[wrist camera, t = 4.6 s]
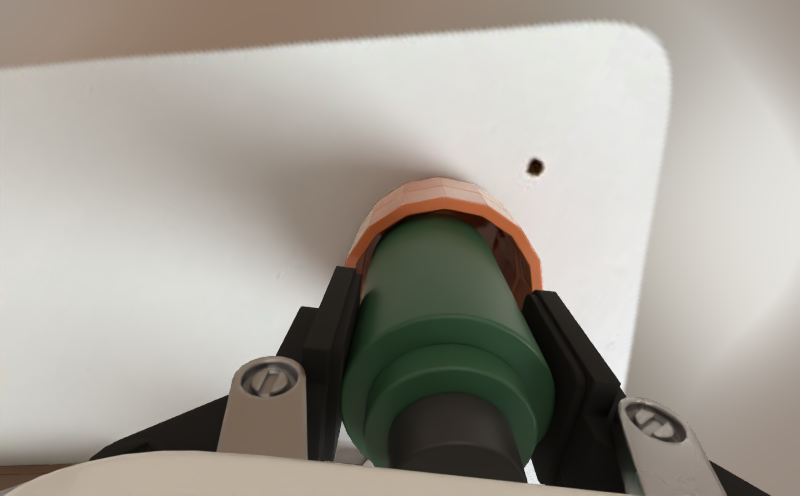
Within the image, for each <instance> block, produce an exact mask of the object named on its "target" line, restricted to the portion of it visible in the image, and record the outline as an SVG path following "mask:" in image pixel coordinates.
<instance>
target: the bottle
mask: <svg viewBox="0 0 800 496" xmlns="http://www.w3.org/2000/svg"><path fill="white" fill-rule="evenodd" d="M554 408H555V386H554V380H553V377H552V374H551V372H550V369H549V367H548V365H547V363H546V361H545V359H544V357H543V355H542V353H541V351H540V349H539V347H538V345H537V343H536V341H535V339H534V337H533V335H532V333H531V331H530V328H529V326H528V324H527V322H526V320H525V318H524V316H523V314H522V312H521V310H520V308H519V306H518V304H517V302H516V300H515V298H514V296H513V294H512V292H511V290H510V288H509V286H508V284H507V282H506V280H505V278H504V276H503V274H502V272H501V270H500V268H499V266H498V264H497V262H496V260H495V258H494V256H493V254H492V252H491V250H490V248H489V246H488V244H487V242H486V241H485V239H484V238H483V236H482V235H481V234H480V233H479V232H478V231H477V230H476V229H475V228H474V227H472V226H471V225H470V224H468V223H467V222H465V221H463V220H461V219H459V218H456V217H454V216H450V215H446V214H439V213H427V214H419V215H415V216H412V217H409V218H406V219H404V220H402V221H400V222H398V223H397V224H395V225H394V226H393V227H391V228H390V229H389V230H388V231H387V232H386V233H385V234H384V235H383V236H382V237H381V238H380V240H379V241H378V243H377V245H376V246H375V248H374V251H373V253H372V256H371V260H370V264H369V269H368V273H367V277H366V281H365V285H364V290H363V294H362V298H361V302H360V307H359V311H358V316H357V320H356V324H355V328H354V333H353V337H352V341H351V345H350V350H349V354H348V358H347V362H346V367H345V371H344V375H343V379H342V385H341V395H340V413H341V417H342V421H343V424H344V426H345V429H346V431H347V434H348V435H349V437H350V439H351V440H352V442H353V443H354V445H355V446H356V447H357V448H358V450H359V451H360V452H361V453H362V454H363V455H364V456H365V457H366V458H367V459H368V460H370V461H371V462H372V464H373V465H374V467H381V468H390V469H400V470H409V471H418V472H427V473H437V474H446V475H455V476H464V477H474V478H483V479H492V480H501V481H510V482H520V483H527V478H526V475H525V471H524V467H525V466H526V465H527V463H528V462H529V460H530V458H531V456H532V454H533V452H534V449H535V448H536V447H537V446H538V445H539V443H540V442H541V441H542V439H543V438H544V436H545V434H546V432H547V431H548V429H549V426H550V423H551V420H552V417H553V414H554Z"/></svg>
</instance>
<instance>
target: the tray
mask: <svg viewBox="0 0 800 496" xmlns="http://www.w3.org/2000/svg"><path fill="white" fill-rule="evenodd" d="M73 465H76V464H63V465H31V466H0V491H2V490H5V489H8V488H11V487H14V486H17V485H20V484H23V483H25V482H28V481H31V480H33V479H35V478H38V477H40V476H42V475H45V474H48V473H51V472H54V471H57V470H60V469H62V468H66V467H69V466H73Z"/></svg>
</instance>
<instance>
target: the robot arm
mask: <svg viewBox="0 0 800 496" xmlns="http://www.w3.org/2000/svg"><path fill="white" fill-rule="evenodd" d="M361 287H362V274H358V273H356V268H349V267H341V266H337V267H336V269H335V271H334V273H333V276H332V278H331V280H330V283H329V285H328V288H327V290H326V292H325V295H324V297H323V300H322V302H321V304H320V307H319V308H312V307H304V306H302V307H301V308H300V309H299V311H298V313H297V315H296V317H295V319H294V321H293V323H292V325H291V327H290V329H289V331H288V333H287V335H286V337H285V339H284V341H283V343H282V344H281V346H280V348H279V350H278V352H277V354H276V356H268V357H261V358H258V359H255V360H252V361H250V362H248V363H246V364H245V365H243V366H242V367H241V368H240V369H239V370H238V371H237V372H236V373H235V375H234V377H233V379H232V383H231V388H230V392H229V395H227V396H224V397H222V398H219V399H217V400H215V401H212V402H210V403H207V404H205V405H202V406H200V407H198V408H195V409H193V410H190V411H188V412H186V413H183V414H181V415H178V416H176V417H174V418H171V419H169V420H166V421H164V422H161V423H159V424H157V425H154V426H152V427H149V428H147V429H145V430H142V431H140V432H137V433H135V434H132V435H130V436H128V437H125V438H123V439H120V440H118V441H116V442H114V443H112V444H110V445H109V446H107V447H105V448H103V449H102V450H101V451H99V452H98V453H97V454H95V455H94V456H93V457H92V458H91V459H90V460H89V461H88V462H84V463H80V464H76V465H73V466H69V467H66V468H62V469H60V470H57V471H54V472H51V473H48V474H45V475H42V476H40V477H38V478H35V479H33V480H31V481H28V482H25V483H23V484H20V485H17V486H14V487H11V488H8V489H5V490H2V491H0V496H770V495H769V494H767V493H765V492H763V491H761V490H760V489H758V488H757V487H755V486H753V485H751V484H750V483H748V482H746V481H744V480H742V479H741V478H739V477H737V476H736V475H734V474H732V473H730V472H729V471H727V470H725V469H724V468H722V467H720V466H718V465H717V464H715V463H713V462H711V461H710V460H708V458H707V456H706V454H705V452H704V450H703V449H702V447H701V445H700V443H699V441H698V439H697V437H696V435H695V433H694V432H693V430H692V429H691V428H690V426H689V425H688V423H687V422H686V421H685V420H683V418H681V417H680V416H679V415H678V414H676V413H675V412H673V411H672V410H670V409H669V408H667V407H665V406H663V405H661V404H659V403H657V402H655V401H652V400H649V399H646V398H640V397H626V395H625V394H624V392H623V391H622V390H621V388H620V385H621V383H620V382H619V380H618V379H617V377H616V376H615V375H614V373H613V372H612V370H611V369H610V368H609V366H608V365H607V363H606V362H605V361H604V359H603V358H602V356H601V355H600V354H599V352H598V351H597V349H596V348H595V347H594V345H593V344H592V342H591V341H590V340H589V338H588V337H587V335H586V334H585V333H584V331H583V330H582V328H581V327H580V326H579V324H578V323H577V321H576V320H575V319H574V317H573V316H572V314H571V313H570V311H569V310H568V309H567V307H566V306H565V304H564V303H563V302H562V300H561V299H560V297H559V296H558V295H557V293H556V292H552V291H544V290H534V291H533V292H532V294H527V295H526V296H525V299H524V303H523V307H522V311H521V312H522V314H523V316H524V318H525V320H526V322H527V324H528V326H529V328H530V331H531V333H532V335H533V337H534V339H535V341H536V343H537V345H538V347H539V349H540V351H541V353H542V355H543V357H544V359H545V361H546V363H547V365H548V367H549V369H550V372H551V374H552V377H553V380H554V386H555V408H554V414H553V417H552V420H551V423H550V426H549V429H548V431H547V432H546V434H545V436H544V438H543V439H542V441H541V442H540V443H539V445H538V446H537V447H536V448H535V449H534V452H533V454H532V456H531V460H532V463H533V466H534V469H535V472H536V476H537V479H538V481H539V482H540V484H545V485H538V484H529V483H520V482H510V481H501V480H492V479H483V478H474V477H464V476H455V475H446V474H437V473H427V472H418V471H409V470H400V469H390V468H381V467H371V466H361V465H351V464H342V463H332V462H325V461H334V457H335V452H336V447H337V442H338V438H339V433H340V428H341V423H342V417H341V413H340V395H341V385H342V379H343V375H344V371H345V367H346V362H347V358H348V354H349V350H350V345H351V341H352V337H353V333H354V328H355V324H356V320H357V316H358V311H359V307H360V298H361Z"/></svg>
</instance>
